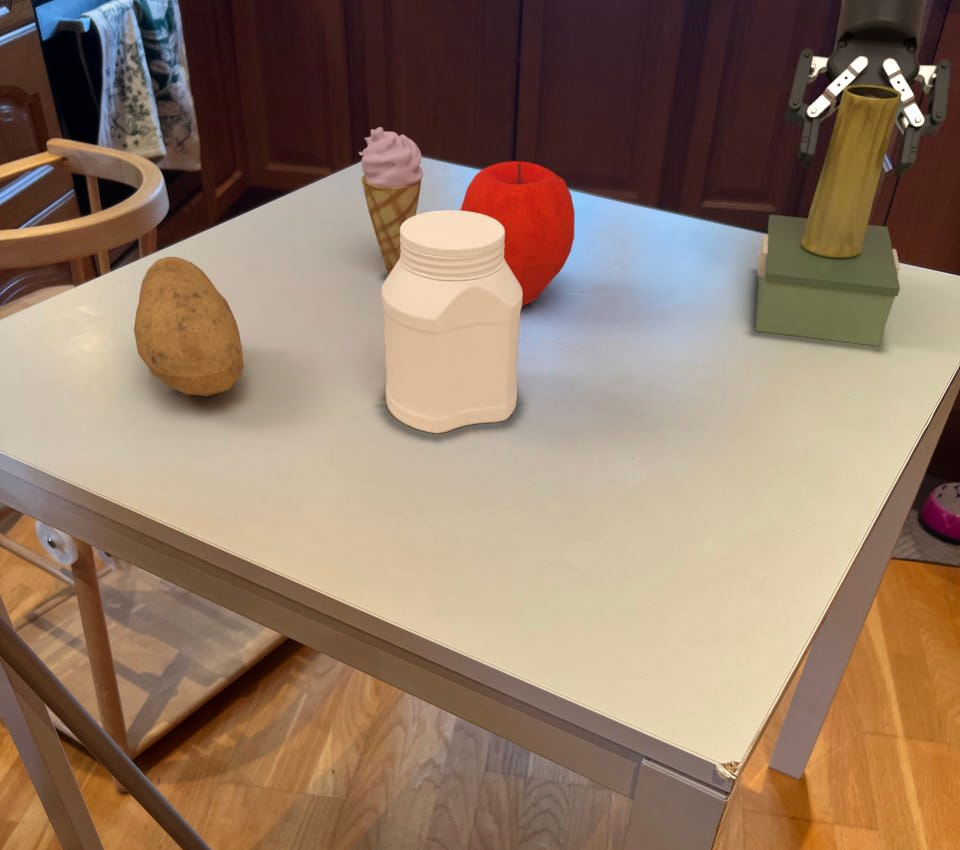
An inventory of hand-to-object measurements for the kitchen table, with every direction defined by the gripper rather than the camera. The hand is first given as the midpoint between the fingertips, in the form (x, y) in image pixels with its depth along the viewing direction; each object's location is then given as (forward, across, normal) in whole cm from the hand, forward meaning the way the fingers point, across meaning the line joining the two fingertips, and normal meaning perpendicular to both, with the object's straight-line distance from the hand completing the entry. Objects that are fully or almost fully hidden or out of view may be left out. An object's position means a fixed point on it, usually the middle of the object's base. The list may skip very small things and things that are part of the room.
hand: (854, 167), depth 92 cm
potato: (+32, -55, -12) cm, 65 cm away
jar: (+30, -32, -10) cm, 45 cm away
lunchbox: (+9, 0, +11) cm, 14 cm away
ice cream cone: (+13, -45, +8) cm, 47 cm away
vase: (+5, 0, +7) cm, 8 cm away
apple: (+15, -31, +5) cm, 35 cm away
